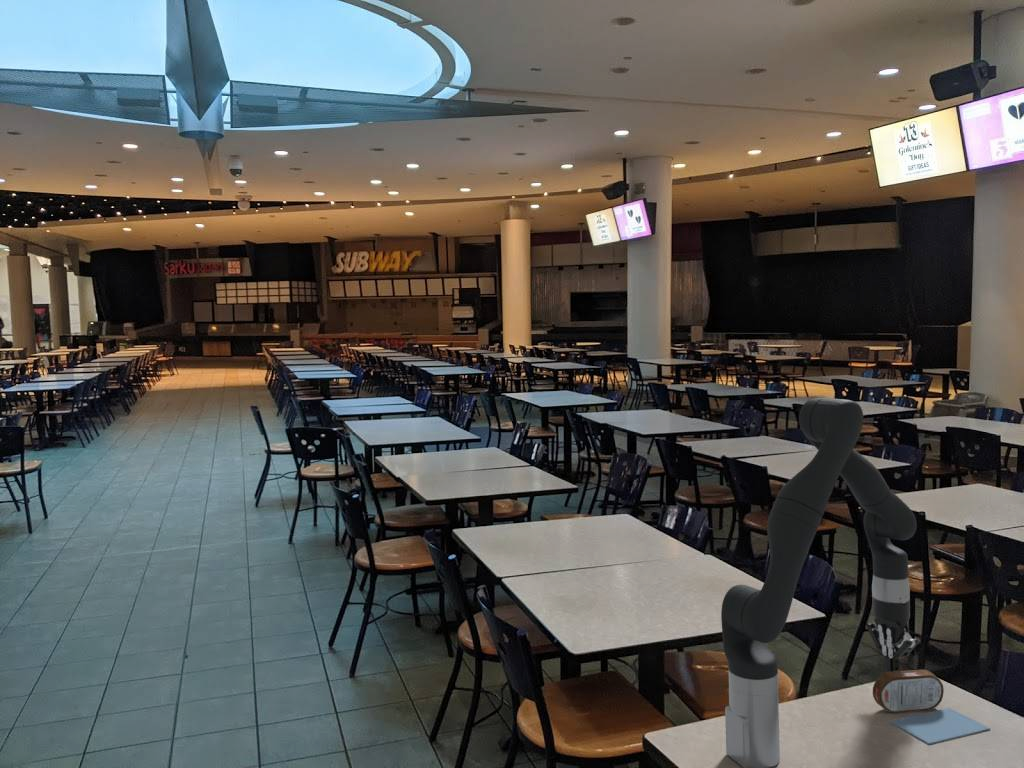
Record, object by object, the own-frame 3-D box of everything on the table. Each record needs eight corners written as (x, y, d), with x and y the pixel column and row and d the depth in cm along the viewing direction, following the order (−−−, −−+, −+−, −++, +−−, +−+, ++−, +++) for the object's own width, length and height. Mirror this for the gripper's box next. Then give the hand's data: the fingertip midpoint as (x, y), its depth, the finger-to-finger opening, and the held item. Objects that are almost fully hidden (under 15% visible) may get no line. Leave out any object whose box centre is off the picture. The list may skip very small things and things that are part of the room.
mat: (929, 744, 157) (929, 743, 157) (890, 722, 166) (890, 721, 166) (990, 729, 162) (990, 728, 162) (949, 709, 171) (949, 707, 171)
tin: (937, 704, 174) (937, 666, 174) (946, 710, 171) (946, 672, 170) (871, 709, 173) (871, 671, 172) (879, 716, 170) (879, 677, 169)
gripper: (855, 589, 180) (856, 664, 181) (900, 607, 168) (902, 687, 168) (881, 585, 182) (882, 659, 183) (928, 602, 170) (929, 681, 171)
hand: (892, 672), depth 176 cm, fingers closed
